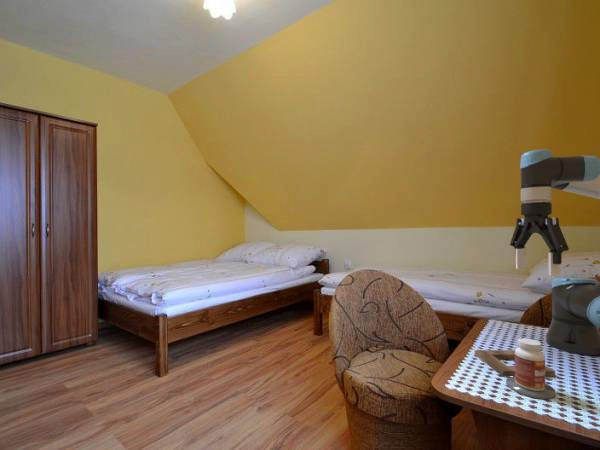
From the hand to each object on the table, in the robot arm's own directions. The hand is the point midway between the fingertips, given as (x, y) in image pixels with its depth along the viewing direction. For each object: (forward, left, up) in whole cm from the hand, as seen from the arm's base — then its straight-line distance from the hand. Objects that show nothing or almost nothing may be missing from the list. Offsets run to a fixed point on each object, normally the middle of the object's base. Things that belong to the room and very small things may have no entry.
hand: (536, 272), depth 95 cm
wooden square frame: (+10, +4, -27) cm, 29 cm away
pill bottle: (+14, +17, -26) cm, 34 cm away
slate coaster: (+14, +17, -27) cm, 35 cm away
